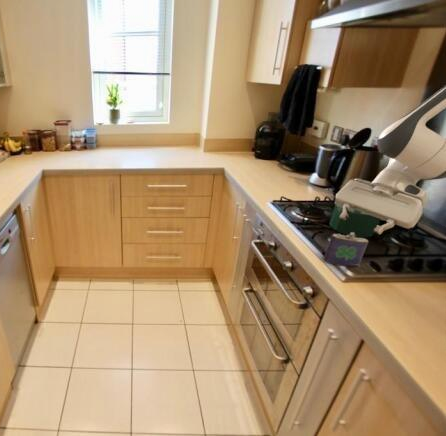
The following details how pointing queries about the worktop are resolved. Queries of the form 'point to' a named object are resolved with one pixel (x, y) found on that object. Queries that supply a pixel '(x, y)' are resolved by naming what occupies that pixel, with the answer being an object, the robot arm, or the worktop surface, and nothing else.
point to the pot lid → (351, 210)
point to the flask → (345, 250)
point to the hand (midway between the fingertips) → (358, 225)
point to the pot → (353, 223)
